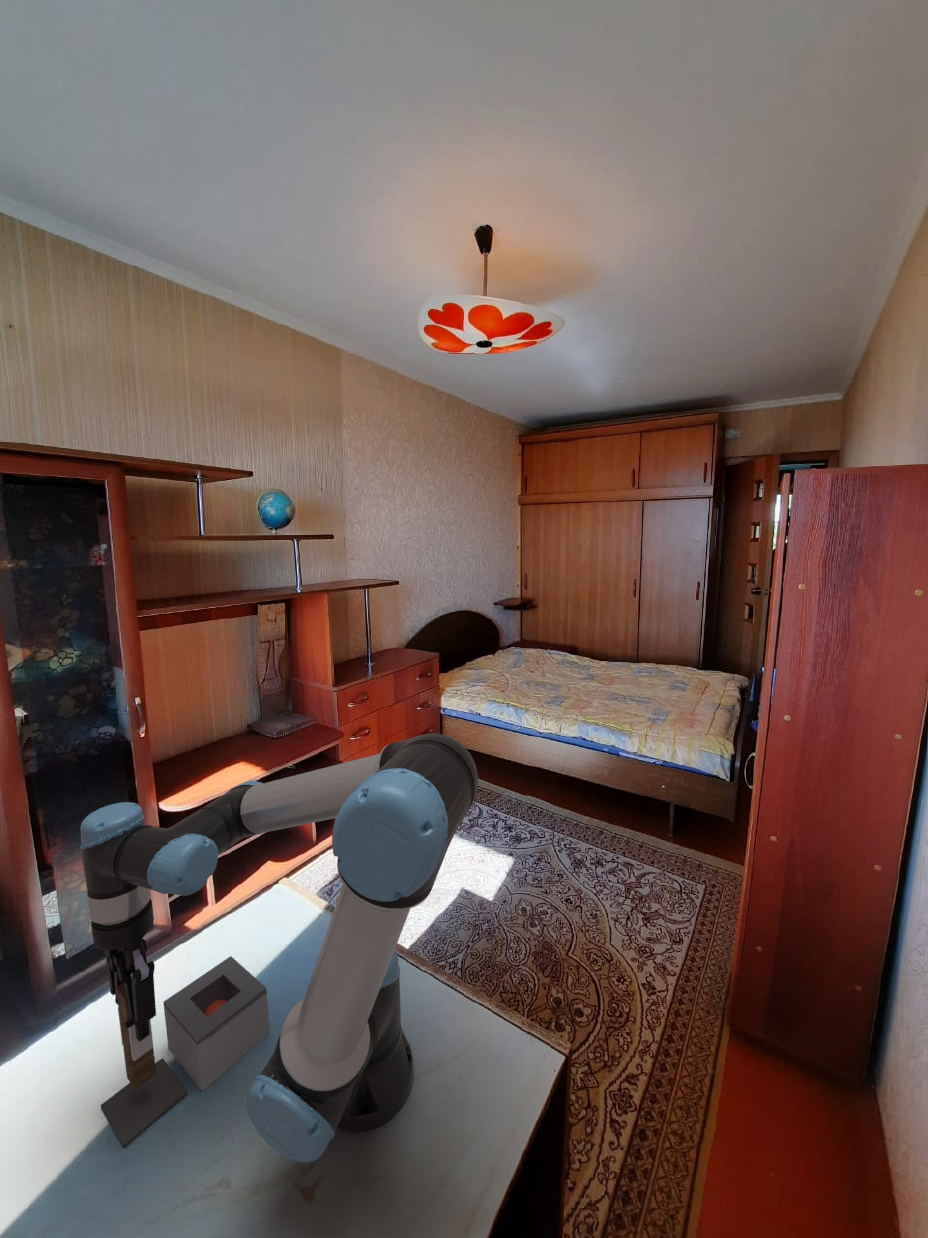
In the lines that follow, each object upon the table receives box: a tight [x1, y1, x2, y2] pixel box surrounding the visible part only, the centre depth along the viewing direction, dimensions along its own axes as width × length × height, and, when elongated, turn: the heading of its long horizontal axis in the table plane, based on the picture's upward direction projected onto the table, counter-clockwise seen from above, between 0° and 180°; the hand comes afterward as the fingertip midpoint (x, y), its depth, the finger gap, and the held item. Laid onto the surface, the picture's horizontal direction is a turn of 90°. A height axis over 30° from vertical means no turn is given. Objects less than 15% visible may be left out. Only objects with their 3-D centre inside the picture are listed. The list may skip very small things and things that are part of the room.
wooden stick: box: [116, 983, 156, 1090], centre depth 77 cm, size 3×3×16 cm
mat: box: [100, 1057, 189, 1149], centre depth 78 cm, size 9×9×1 cm
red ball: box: [205, 1000, 227, 1017], centre depth 87 cm, size 4×4×4 cm
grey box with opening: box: [162, 955, 271, 1092], centre depth 87 cm, size 12×12×9 cm
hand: (137, 1045), depth 77 cm, fingers closed on wooden stick, 3 cm apart
